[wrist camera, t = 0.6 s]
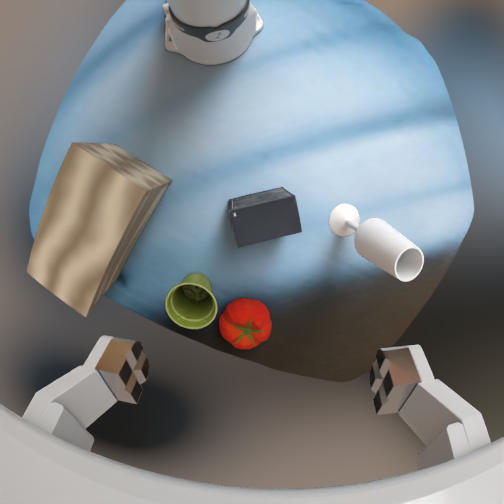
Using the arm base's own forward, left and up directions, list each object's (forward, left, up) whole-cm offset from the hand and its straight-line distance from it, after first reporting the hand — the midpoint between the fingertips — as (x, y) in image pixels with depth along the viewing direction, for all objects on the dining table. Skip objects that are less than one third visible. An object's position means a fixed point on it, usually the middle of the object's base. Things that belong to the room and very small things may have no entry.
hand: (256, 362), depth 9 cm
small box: (+4, +3, -45) cm, 46 cm away
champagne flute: (+10, +19, -45) cm, 50 cm away
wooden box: (-3, -25, -45) cm, 52 cm away
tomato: (+25, -5, -45) cm, 52 cm away
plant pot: (+16, -13, -45) cm, 50 cm away
